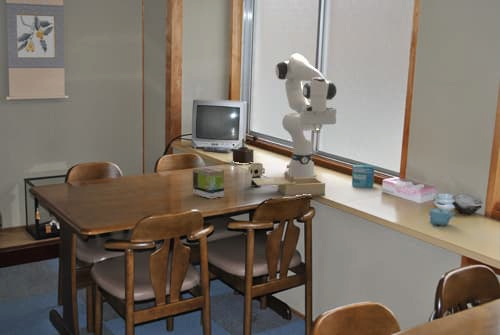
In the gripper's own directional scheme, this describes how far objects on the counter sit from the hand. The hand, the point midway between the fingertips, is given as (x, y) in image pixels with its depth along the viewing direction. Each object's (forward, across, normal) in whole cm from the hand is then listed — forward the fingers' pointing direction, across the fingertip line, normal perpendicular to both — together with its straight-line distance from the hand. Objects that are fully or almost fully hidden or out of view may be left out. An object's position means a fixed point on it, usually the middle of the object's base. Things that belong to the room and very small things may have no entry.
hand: (317, 132), depth 354 cm
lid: (+26, +25, +5) cm, 36 cm away
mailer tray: (+32, +10, +5) cm, 34 cm away
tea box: (+33, +61, +4) cm, 69 cm away
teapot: (+31, -38, +76) cm, 90 cm away
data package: (+33, -29, -3) cm, 44 cm away
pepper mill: (+35, +24, -82) cm, 93 cm away
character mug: (+33, +31, -13) cm, 47 cm away
